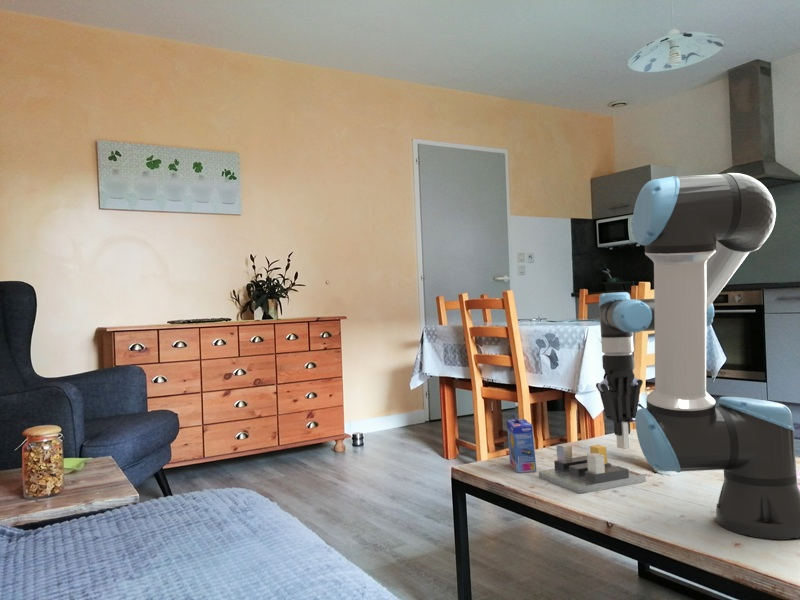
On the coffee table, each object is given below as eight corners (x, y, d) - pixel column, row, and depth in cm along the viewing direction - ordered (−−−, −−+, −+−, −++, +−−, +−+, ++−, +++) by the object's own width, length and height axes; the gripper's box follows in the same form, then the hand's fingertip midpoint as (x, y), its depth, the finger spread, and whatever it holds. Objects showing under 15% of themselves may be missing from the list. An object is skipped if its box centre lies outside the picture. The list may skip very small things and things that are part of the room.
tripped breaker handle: (607, 463, 145) (606, 447, 145) (599, 464, 144) (598, 448, 144) (599, 460, 148) (598, 444, 148) (591, 462, 147) (590, 445, 147)
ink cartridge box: (508, 463, 164) (505, 411, 164) (528, 462, 164) (525, 409, 164) (515, 473, 154) (512, 417, 154) (537, 472, 154) (533, 415, 155)
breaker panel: (645, 481, 141) (643, 449, 141) (579, 493, 134) (577, 460, 134) (600, 466, 156) (598, 437, 156) (538, 477, 149) (537, 447, 149)
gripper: (627, 351, 155) (633, 441, 155) (586, 354, 151) (592, 448, 150) (649, 352, 148) (654, 447, 148) (606, 356, 144) (612, 454, 143)
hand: (623, 447), depth 149 cm, fingers closed
